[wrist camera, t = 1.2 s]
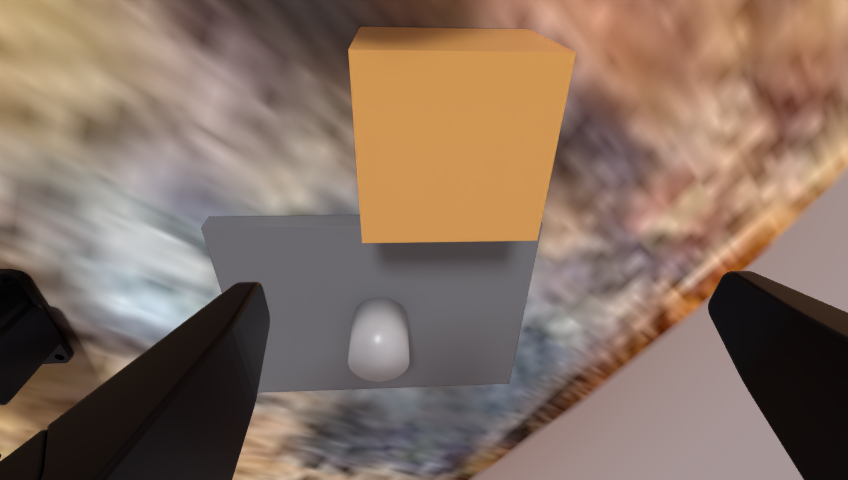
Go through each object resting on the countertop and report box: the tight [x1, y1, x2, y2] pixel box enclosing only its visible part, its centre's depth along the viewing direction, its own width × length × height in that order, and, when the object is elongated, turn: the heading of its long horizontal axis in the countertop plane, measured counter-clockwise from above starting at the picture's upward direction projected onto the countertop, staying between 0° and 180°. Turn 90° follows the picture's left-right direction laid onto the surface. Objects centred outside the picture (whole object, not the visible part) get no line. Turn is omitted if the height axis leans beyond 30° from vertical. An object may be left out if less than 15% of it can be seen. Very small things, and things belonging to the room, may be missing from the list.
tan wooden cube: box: [348, 27, 576, 243], centre depth 16 cm, size 7×7×5 cm
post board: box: [201, 215, 542, 393], centre depth 22 cm, size 16×12×4 cm
